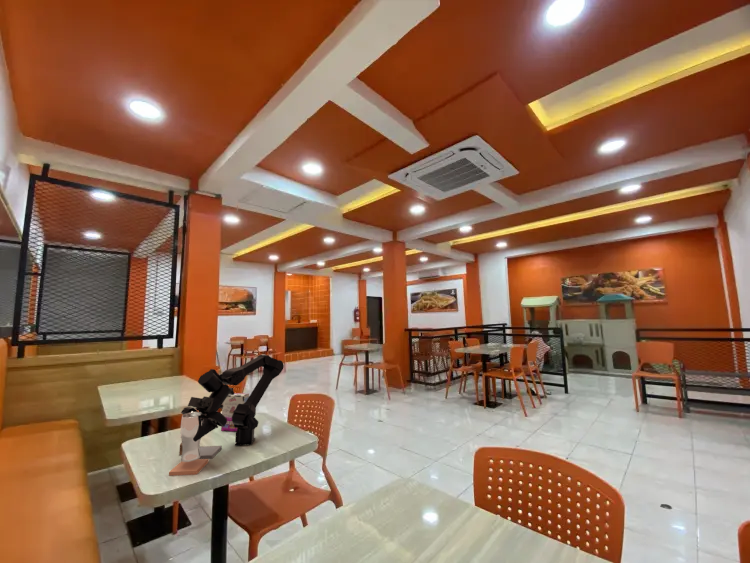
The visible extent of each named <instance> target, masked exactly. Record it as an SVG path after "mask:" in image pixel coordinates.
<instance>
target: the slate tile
mask: <svg viewBox="0 0 750 563" xmlns="http://www.w3.org/2000/svg"><path fill="white" fill-rule="evenodd" d="M222 447H223V445H204V446H201V445H200V454H201V456H200V458H199V459H209V460H211V459H213V458H215V456H216V455H217V454H218V453H220V451H221V450H222V449H223V448H222Z"/></svg>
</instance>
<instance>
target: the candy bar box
mask: <svg viewBox="0 0 750 563" xmlns="http://www.w3.org/2000/svg"><path fill="white" fill-rule="evenodd" d="M249 396H250V393H246V392H245V393H241V392H237V393H235V392H234V395H228V396H227V398H226V399H225V401H224V402H223V404H222V405H223V408H222V409H221V414H222V415H224V416H225V417H226V418H227V423H226V424H225V426H224V427H221V426H220V428H221V432H231V433H233V432H235V433H236V432H237V428H234V424H233V422H232V415H233V411H234V410H235V409H236V407H237V405H238V404H244V403H245V402H246V401H247V399H248V398H249Z"/></svg>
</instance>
